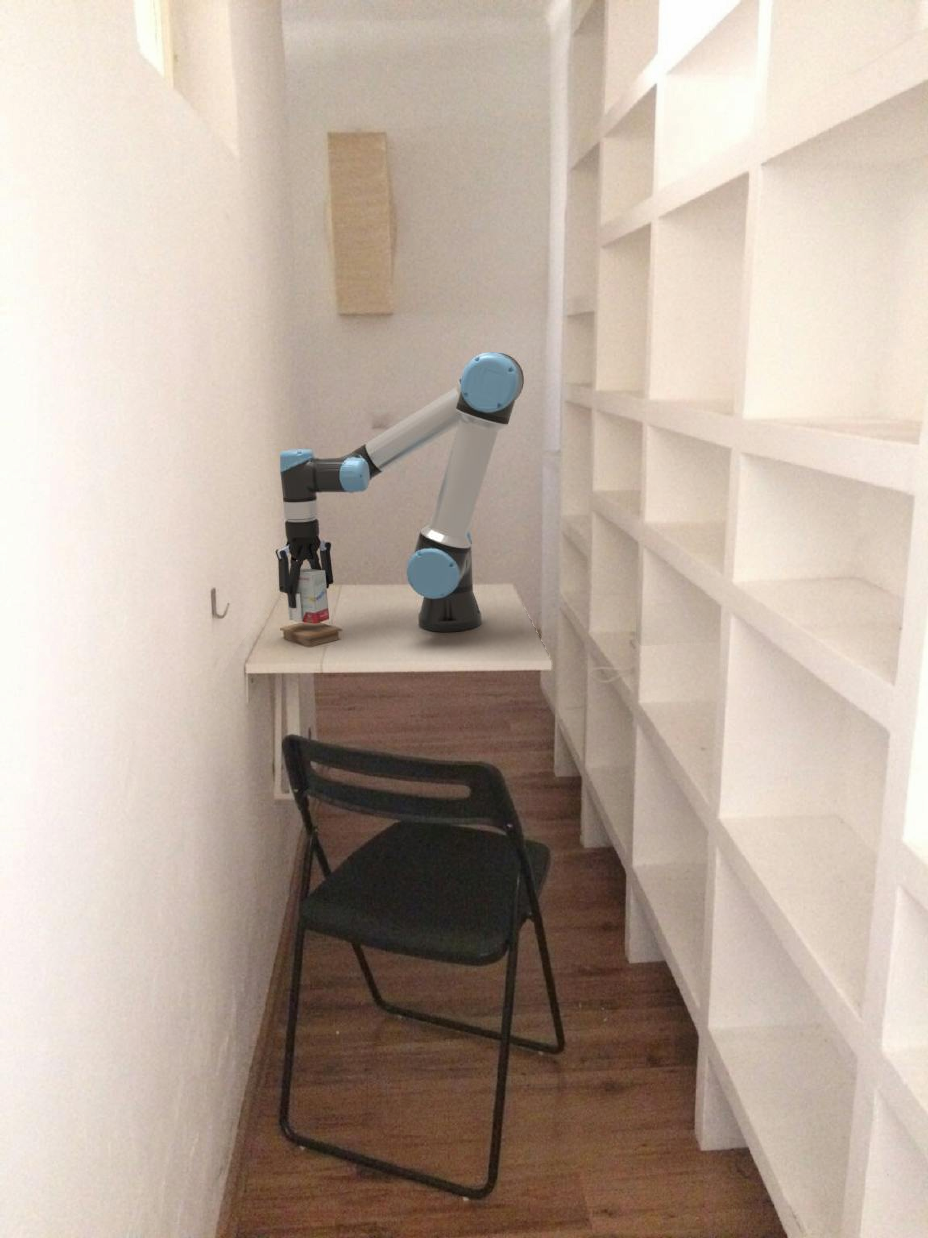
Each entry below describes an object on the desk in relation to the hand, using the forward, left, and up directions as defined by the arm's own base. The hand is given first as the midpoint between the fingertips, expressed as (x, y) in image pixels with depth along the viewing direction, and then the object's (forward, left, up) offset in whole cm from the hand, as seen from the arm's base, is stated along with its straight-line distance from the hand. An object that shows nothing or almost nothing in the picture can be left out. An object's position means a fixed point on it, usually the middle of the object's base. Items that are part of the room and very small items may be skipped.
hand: (309, 618), depth 224 cm
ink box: (0, 0, -1) cm, 1 cm away
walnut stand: (0, 0, -5) cm, 5 cm away
